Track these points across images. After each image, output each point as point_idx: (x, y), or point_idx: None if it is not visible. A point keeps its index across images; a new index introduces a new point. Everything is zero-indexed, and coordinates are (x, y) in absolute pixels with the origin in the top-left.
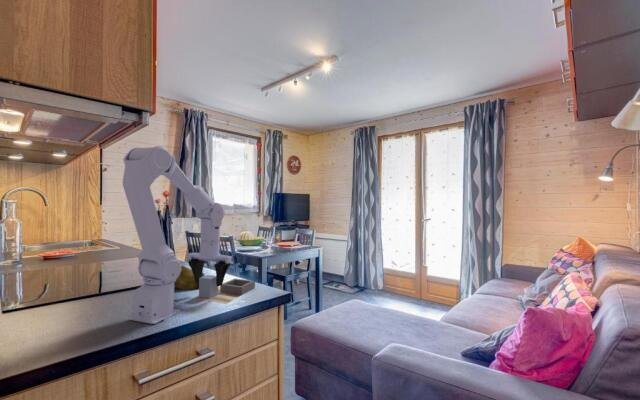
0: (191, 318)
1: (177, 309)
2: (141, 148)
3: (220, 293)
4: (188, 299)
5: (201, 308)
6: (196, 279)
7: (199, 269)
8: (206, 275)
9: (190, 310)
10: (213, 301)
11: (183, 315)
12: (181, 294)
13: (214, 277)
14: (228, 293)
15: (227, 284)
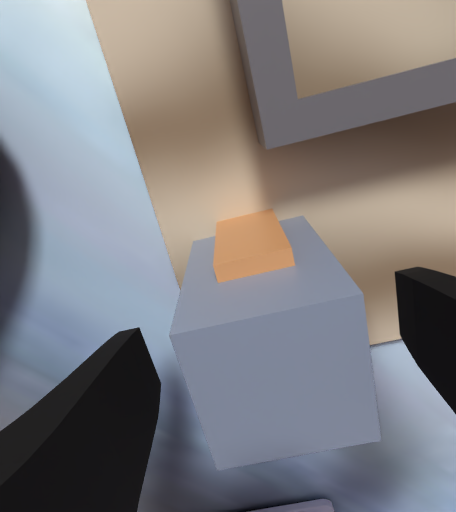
0: (436, 508)
1: (306, 510)
2: None
3: (290, 169)
4: (168, 364)
5: (378, 415)
6: (149, 430)
7: (92, 503)
8: (187, 364)
9: (347, 459)
10: (388, 336)
11: (371, 506)
12: (21, 327)
13: (370, 372)
14: None
15: (284, 35)
